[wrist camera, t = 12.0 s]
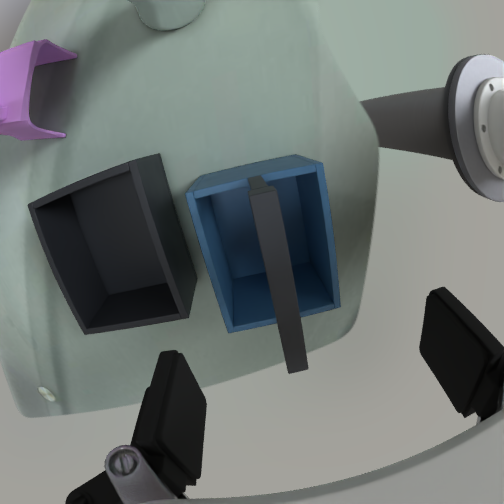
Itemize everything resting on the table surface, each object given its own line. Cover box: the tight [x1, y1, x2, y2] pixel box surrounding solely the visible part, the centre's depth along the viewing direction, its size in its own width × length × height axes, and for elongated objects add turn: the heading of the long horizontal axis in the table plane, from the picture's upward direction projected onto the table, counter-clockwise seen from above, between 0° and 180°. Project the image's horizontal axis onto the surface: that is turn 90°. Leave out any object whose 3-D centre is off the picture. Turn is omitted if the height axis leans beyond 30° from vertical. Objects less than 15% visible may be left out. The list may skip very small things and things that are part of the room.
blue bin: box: [185, 154, 341, 374], centre depth 20 cm, size 8×10×13 cm
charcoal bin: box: [28, 153, 197, 335], centre depth 23 cm, size 10×12×7 cm
